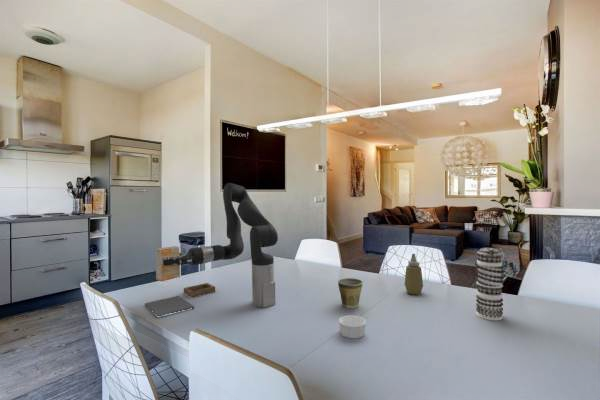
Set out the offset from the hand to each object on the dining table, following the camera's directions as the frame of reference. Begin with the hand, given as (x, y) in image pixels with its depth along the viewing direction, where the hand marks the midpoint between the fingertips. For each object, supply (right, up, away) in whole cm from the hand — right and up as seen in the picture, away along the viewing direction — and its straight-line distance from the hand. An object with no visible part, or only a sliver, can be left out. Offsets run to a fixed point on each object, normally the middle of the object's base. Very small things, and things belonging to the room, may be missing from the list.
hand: (161, 261), depth 125 cm
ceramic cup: (+78, -18, +2) cm, 80 cm away
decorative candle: (+128, -18, -12) cm, 129 cm away
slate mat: (+2, -19, +2) cm, 20 cm away
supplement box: (+2, -8, +2) cm, 8 cm away
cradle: (+9, -19, +20) cm, 29 cm away
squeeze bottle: (+109, -18, +15) cm, 112 cm away
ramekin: (+74, -19, -24) cm, 80 cm away
